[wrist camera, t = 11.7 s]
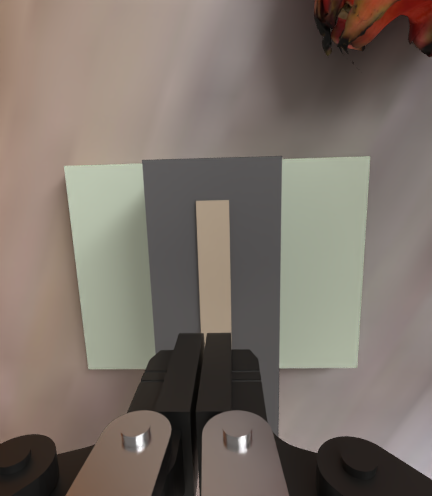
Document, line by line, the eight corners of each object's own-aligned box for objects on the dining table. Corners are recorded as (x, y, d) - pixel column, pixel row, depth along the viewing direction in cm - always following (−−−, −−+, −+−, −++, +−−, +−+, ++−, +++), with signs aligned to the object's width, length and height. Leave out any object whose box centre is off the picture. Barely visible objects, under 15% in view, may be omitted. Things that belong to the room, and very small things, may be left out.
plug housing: (265, 160, 18) (282, 156, 12) (264, 368, 21) (278, 449, 15) (169, 162, 19) (141, 159, 13) (180, 369, 21) (161, 448, 15)
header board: (359, 157, 20) (397, 153, 15) (348, 354, 22) (378, 400, 18) (76, 166, 20) (33, 165, 16) (97, 356, 23) (65, 401, 19)
